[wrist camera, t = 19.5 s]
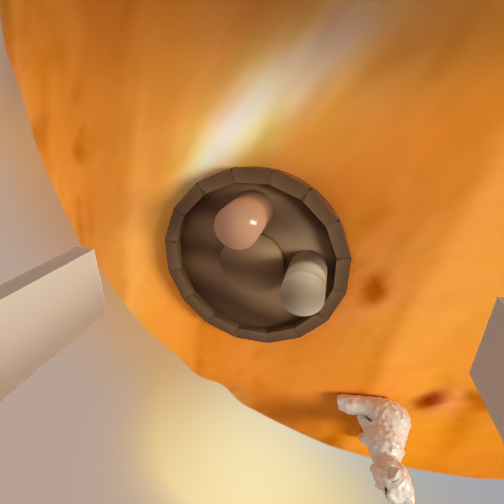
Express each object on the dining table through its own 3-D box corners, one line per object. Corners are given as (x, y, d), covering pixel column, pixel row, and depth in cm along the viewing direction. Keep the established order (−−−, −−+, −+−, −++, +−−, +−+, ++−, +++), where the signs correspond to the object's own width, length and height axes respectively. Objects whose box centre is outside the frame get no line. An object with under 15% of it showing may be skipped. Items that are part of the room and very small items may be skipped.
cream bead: (286, 251, 38) (275, 278, 31) (325, 248, 36) (321, 275, 30) (292, 285, 39) (283, 317, 33) (329, 282, 38) (327, 315, 32)
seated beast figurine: (332, 392, 46) (330, 476, 35) (390, 377, 42) (407, 465, 31) (363, 437, 48) (369, 529, 37) (420, 426, 44) (446, 525, 33)
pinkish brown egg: (235, 225, 38) (214, 247, 32) (235, 188, 36) (213, 203, 30) (272, 229, 37) (258, 252, 31) (274, 191, 35) (259, 207, 29)
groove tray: (165, 163, 38) (154, 165, 36) (361, 170, 33) (363, 174, 31) (182, 318, 47) (174, 327, 45) (337, 343, 42) (337, 356, 40)
